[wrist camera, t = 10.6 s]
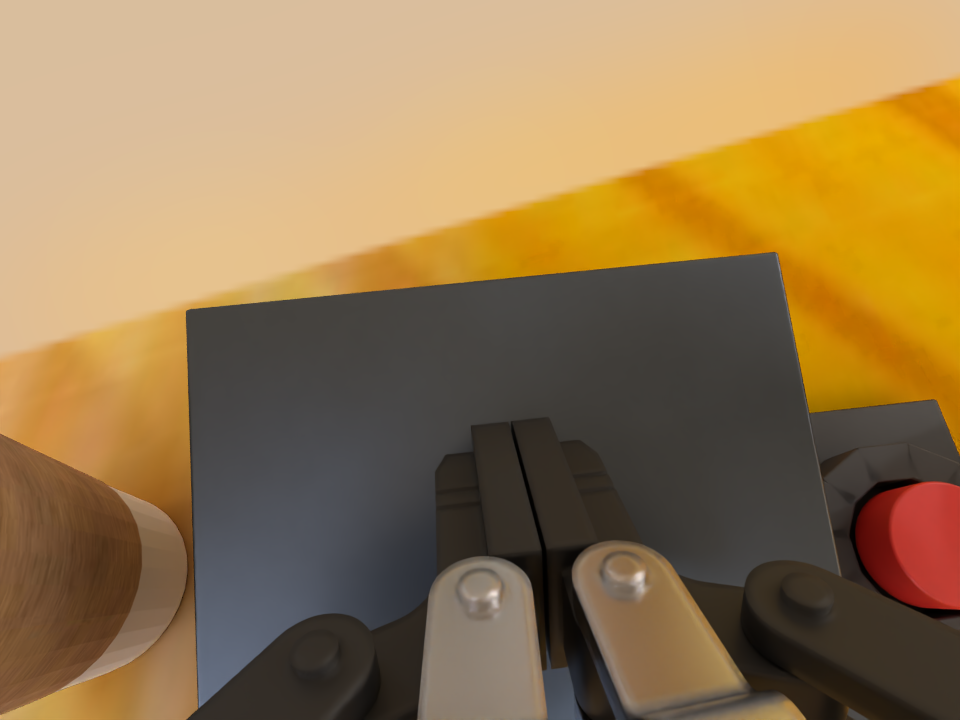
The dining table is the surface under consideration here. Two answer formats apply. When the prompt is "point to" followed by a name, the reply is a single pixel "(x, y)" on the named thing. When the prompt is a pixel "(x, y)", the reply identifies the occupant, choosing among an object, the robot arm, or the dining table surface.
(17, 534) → the coffee cup
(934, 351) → the dining table surface
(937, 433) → the block
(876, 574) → the button
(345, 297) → the lid
